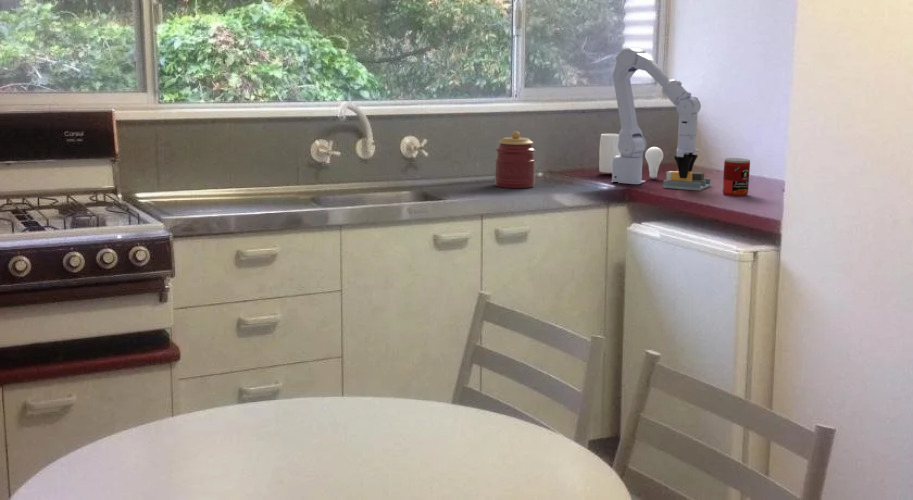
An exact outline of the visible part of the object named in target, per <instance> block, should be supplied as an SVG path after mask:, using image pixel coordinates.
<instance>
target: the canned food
mask: <svg viewBox="0 0 913 500" xmlns="http://www.w3.org/2000/svg"><path fill="white" fill-rule="evenodd" d="M750 171H751V159H748V158H741V157H739V158H738V157H729V158H728V157H727V158H724V163H723V178H722V181H723V182H722V195H724V196H727V195H729V196H728V197H747V196H748V193H749V184H750V182H749V181H750Z"/></svg>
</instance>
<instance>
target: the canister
mask: <svg viewBox="0 0 913 500" xmlns="http://www.w3.org/2000/svg"><path fill="white" fill-rule="evenodd" d="M497 143H498V146H497V147H496V148H494V149H495V151H496V157H495V175H494V183H495V186H496V187H498V188H499V187H500V188H506V189H529V188H534V187H535V183H536V177H535V176H536V175H535V173H536V161H537V160H536V159H535V152H536V151H537V149H536V148H534V147H533V144H534V141H533V140H531V139H530V138H528V137H521V134H520V132H519V131H517V130H514V131H513V132H512V133H511V136H510V137H507V136H506V137H503V138H502V139H500V140H498V141H497Z"/></svg>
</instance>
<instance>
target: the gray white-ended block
mask: <svg viewBox="0 0 913 500" xmlns="http://www.w3.org/2000/svg"><path fill="white" fill-rule="evenodd" d="M704 178H705V173H704V172H698V171H695V172H694V171H692V180H702V181H704Z"/></svg>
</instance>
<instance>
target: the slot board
mask: <svg viewBox="0 0 913 500" xmlns="http://www.w3.org/2000/svg"><path fill="white" fill-rule="evenodd" d="M711 179H712V178H705V177H704V181H702V180H692V182H684V181H671V180H667V179H663V185H662V186H663V188H664V189H675V190H676V189H677V190H688V191H689V190H691V191H702V190H704V189H707V188H709V187H711Z"/></svg>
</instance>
